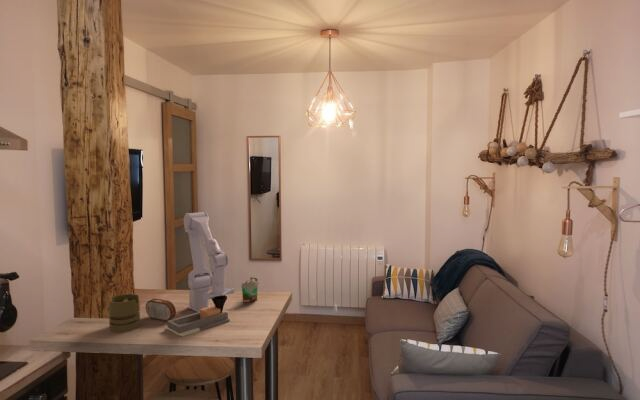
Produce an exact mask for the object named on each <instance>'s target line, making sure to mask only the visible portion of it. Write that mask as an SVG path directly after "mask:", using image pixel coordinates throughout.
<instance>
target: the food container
mask: <svg viewBox="0 0 640 400" xmlns="http://www.w3.org/2000/svg"><path fill="white" fill-rule="evenodd" d="M259 285H260V281H259V279H258V278H257V277H255V276H254V277H253V276H250V279H249V280H245V282H243V283H241V290H242V291H241V292H242V304H252V303H255V301H256V302H257V301H258V289H259Z"/></svg>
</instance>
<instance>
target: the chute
mask: <svg viewBox="0 0 640 400" xmlns="http://www.w3.org/2000/svg"><path fill="white" fill-rule="evenodd" d="M229 322H230V318H229V312H228V311H224V312H223V311H222V313H220V314H217V315H213V316H210V317H206V318H203V319H200V312H194V313H190V314H187V315H183V316H180V317H176V318H173V319H171V320H169V321H166V324H167V325H166V326H165V328H166V330H168V331H169V330H170V332H171V331H172V332H171V333H173V332H174V333H173V334H175V333H176V334H175V335H177V336H178V335H179V337H180V336H182V337H184V336H185V335H186V336H188V335H191V334H194V333H198V332H201V331H203V330H208V329H210V328H213V327H217V326H220V325H223V324H225V323H229Z"/></svg>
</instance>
